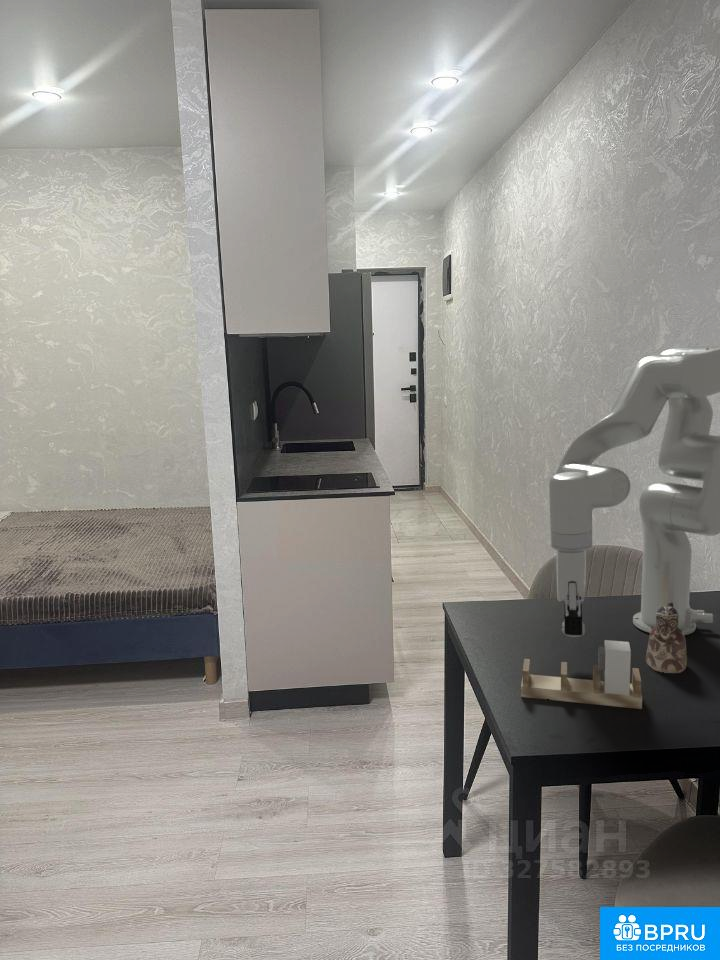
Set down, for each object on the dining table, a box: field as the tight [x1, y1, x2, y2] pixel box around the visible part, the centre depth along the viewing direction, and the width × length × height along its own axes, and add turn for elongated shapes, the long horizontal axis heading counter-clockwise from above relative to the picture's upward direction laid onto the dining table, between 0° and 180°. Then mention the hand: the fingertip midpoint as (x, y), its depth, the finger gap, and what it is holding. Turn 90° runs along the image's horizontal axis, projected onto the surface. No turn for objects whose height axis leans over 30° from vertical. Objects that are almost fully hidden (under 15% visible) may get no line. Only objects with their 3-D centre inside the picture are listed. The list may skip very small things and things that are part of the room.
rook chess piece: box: [561, 596, 586, 638], centre depth 134 cm, size 4×4×8 cm
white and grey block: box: [597, 639, 632, 695], centre depth 120 cm, size 5×4×8 cm
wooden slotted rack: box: [520, 658, 643, 710], centre depth 122 cm, size 20×5×5 cm, turn 74°
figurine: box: [645, 602, 688, 674], centre depth 132 cm, size 7×7×12 cm
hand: (573, 627), depth 134 cm, fingers closed on rook chess piece, 4 cm apart
